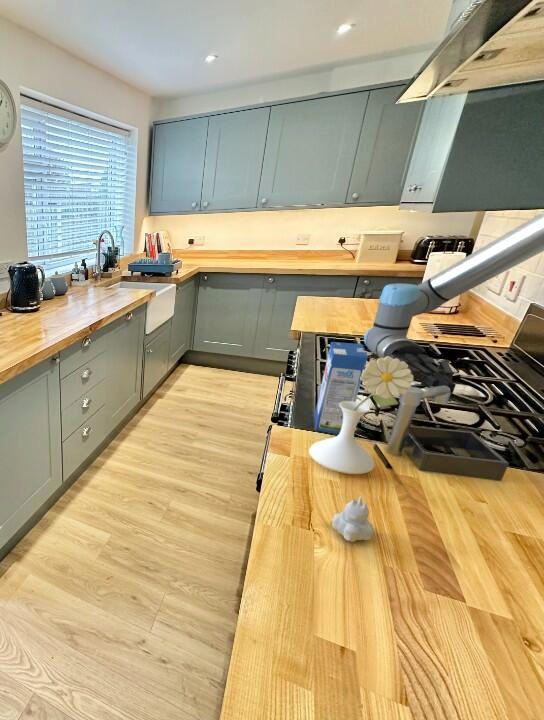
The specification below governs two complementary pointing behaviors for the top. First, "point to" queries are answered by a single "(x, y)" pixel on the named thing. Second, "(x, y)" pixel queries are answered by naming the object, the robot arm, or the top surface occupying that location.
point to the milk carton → (339, 384)
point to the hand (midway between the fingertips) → (449, 390)
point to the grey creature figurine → (354, 521)
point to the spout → (425, 395)
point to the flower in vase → (343, 449)
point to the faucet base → (398, 433)
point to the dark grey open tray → (479, 466)
